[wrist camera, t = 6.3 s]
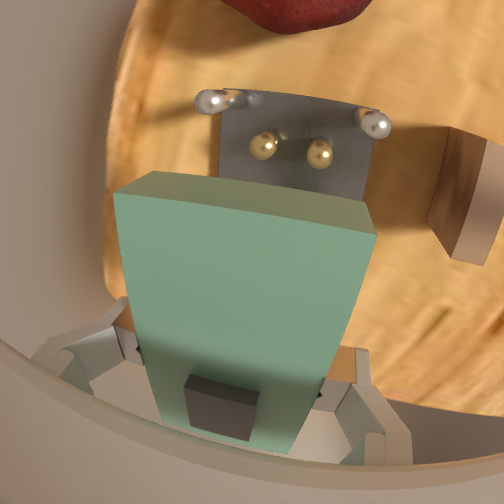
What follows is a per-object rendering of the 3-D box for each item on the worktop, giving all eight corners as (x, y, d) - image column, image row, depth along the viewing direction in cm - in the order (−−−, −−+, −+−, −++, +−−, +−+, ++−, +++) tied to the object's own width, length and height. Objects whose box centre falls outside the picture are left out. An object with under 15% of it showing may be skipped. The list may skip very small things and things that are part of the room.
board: (153, 170, 8) (97, 201, 6) (365, 202, 7) (381, 249, 5) (177, 391, 14) (158, 431, 12) (293, 419, 13) (285, 465, 11)
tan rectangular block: (450, 126, 17) (487, 139, 12) (480, 138, 17) (520, 155, 12) (426, 221, 21) (450, 258, 16) (455, 228, 21) (483, 266, 16)
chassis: (227, 88, 20) (188, 87, 14) (377, 109, 18) (400, 115, 12) (218, 261, 28) (189, 309, 22) (337, 284, 26) (337, 340, 20)
